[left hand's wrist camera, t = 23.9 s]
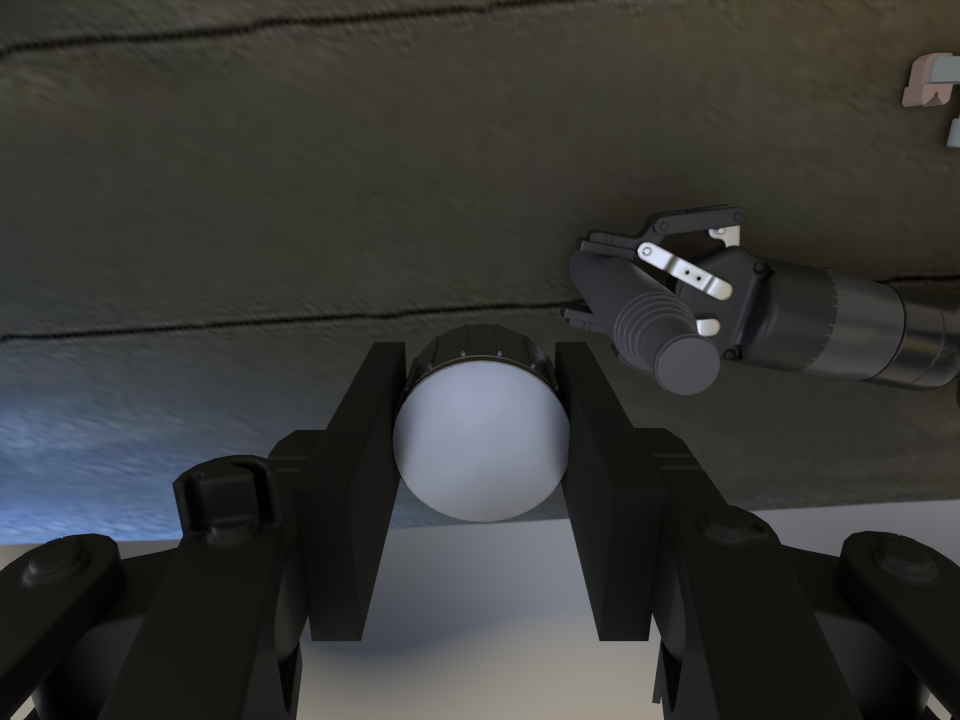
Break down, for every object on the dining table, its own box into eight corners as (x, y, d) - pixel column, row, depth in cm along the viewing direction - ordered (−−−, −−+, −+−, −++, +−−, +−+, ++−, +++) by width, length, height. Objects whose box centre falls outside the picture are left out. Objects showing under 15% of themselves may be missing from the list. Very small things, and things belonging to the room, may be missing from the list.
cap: (401, 322, 14) (383, 360, 11) (562, 321, 14) (579, 358, 11) (409, 463, 15) (394, 524, 13) (555, 463, 15) (570, 523, 13)
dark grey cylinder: (596, 231, 45) (698, 299, 23) (629, 267, 46) (758, 368, 24) (557, 267, 46) (620, 366, 24) (590, 302, 47) (680, 429, 25)
